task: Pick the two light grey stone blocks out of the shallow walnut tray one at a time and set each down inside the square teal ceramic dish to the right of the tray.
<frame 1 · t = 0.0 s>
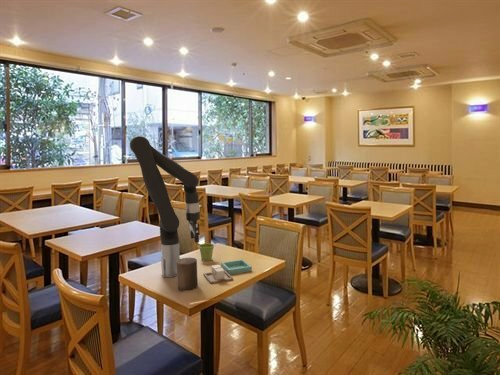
hand: (194, 240, 191), 17 cm above the table, tool pointing down, fingers open, 8 cm apart
stone b: (219, 279, 179), point 1 cm above the table, touching tray
plant pot: (206, 259, 212), on the table
tray: (218, 278, 182), on the table
pillar candle: (187, 288, 171), on the table
dish: (236, 269, 194), on the table
stone a: (216, 275, 184), point 1 cm above the table, touching tray
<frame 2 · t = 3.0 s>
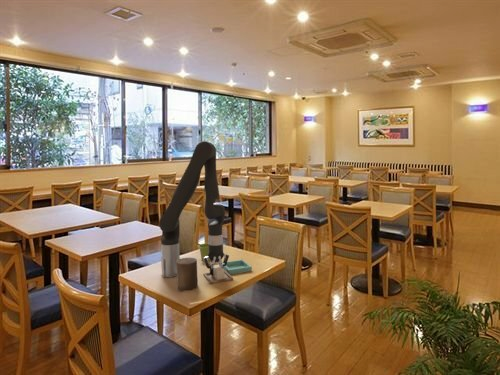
hand: (216, 274, 184), 1 cm above the table, tool pointing down, fingers closed on stone a, 4 cm apart
stone a: (216, 275, 184), point 1 cm above the table, touching gripper, tray
everything else where it was.
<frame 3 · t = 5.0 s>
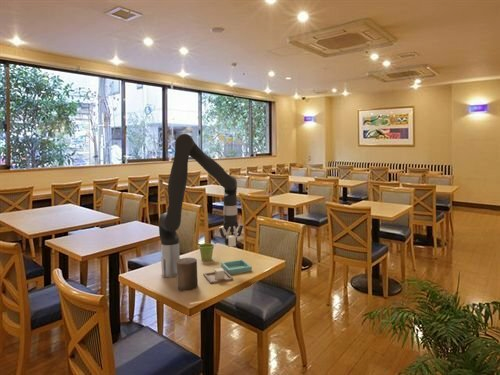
hand: (231, 244, 191), 15 cm above the table, tool pointing down, fingers closed on stone a, 4 cm apart
stone a: (231, 245, 191), point 14 cm above the table, touching gripper
everything else where it was.
when the fingers open (3 cm above the table, at t = 7.0 s): stone a drops 2 cm, resting on dish.
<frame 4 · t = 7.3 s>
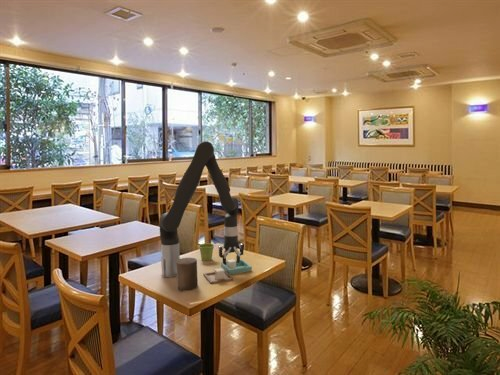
hand: (231, 263, 193), 4 cm above the table, tool pointing down, fingers open, 7 cm apart
stone a: (231, 269, 193), point 1 cm above the table, touching dish
everything else where it was.
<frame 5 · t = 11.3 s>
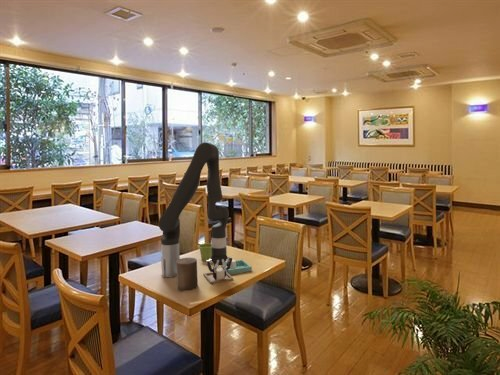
hand: (219, 278, 179), 1 cm above the table, tool pointing down, fingers closed on stone b, 4 cm apart
stone b: (219, 279, 179), point 1 cm above the table, touching gripper, tray
everything else where it was.
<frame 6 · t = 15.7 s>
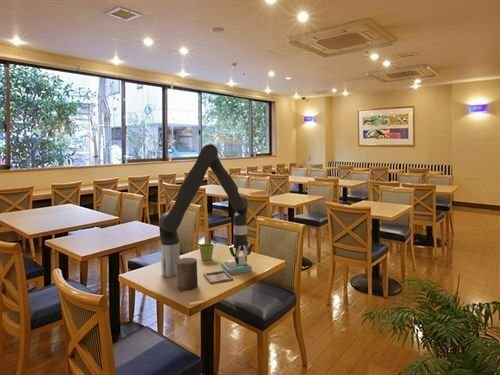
hand: (241, 262, 195), 4 cm above the table, tool pointing down, fingers closed on stone b, 3 cm apart
stone b: (241, 263, 195), point 3 cm above the table, touching gripper
stone a: (231, 269, 193), point 1 cm above the table, touching dish, gripper
everything else where it was.
when the fingers open (4 cm above the table, at t = 15.8 s): stone b drops 2 cm, resting on dish.
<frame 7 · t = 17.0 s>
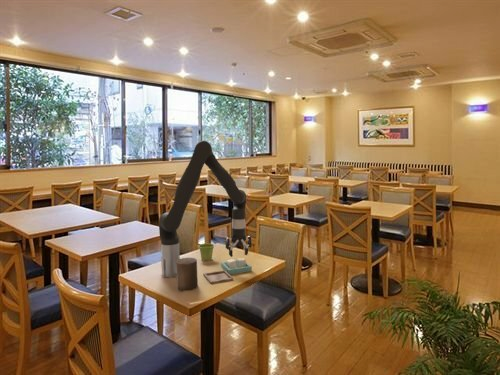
hand: (238, 255, 194), 8 cm above the table, tool pointing down, fingers open, 8 cm apart
stone b: (241, 267, 195), point 1 cm above the table, touching dish
stone a: (232, 269, 193), point 1 cm above the table, touching dish
everything else where it was.
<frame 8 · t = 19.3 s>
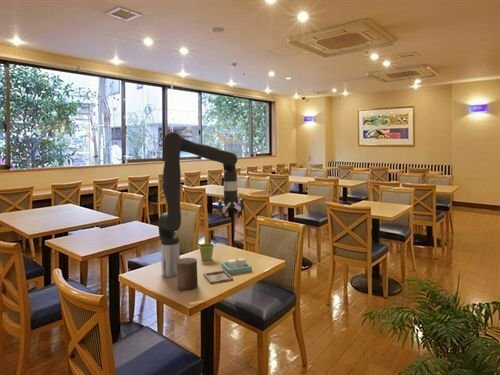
hand: (231, 218, 194), 28 cm above the table, tool pointing down, fingers open, 8 cm apart
nothing on the table moved.
at the end: stone a inside the target area on the dish (2.5 cm from its centre), point 0.6 cm above the dish's base; stone b inside the target area on the dish (2.9 cm from its centre), point 0.6 cm above the dish's base; the gripper is holding nothing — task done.
